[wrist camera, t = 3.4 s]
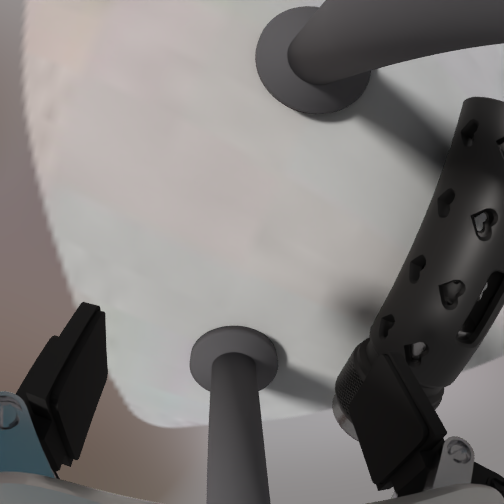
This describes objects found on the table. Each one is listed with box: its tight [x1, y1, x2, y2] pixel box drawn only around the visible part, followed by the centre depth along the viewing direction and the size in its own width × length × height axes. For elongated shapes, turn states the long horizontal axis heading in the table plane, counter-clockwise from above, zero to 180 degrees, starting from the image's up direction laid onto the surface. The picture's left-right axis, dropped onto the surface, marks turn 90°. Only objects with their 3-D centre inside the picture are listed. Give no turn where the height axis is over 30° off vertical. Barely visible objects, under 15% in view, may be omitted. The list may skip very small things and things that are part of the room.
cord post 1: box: [190, 326, 278, 504], centre depth 18 cm, size 8×8×24 cm
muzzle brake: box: [332, 97, 504, 441], centre depth 22 cm, size 10×28×10 cm, turn 163°
